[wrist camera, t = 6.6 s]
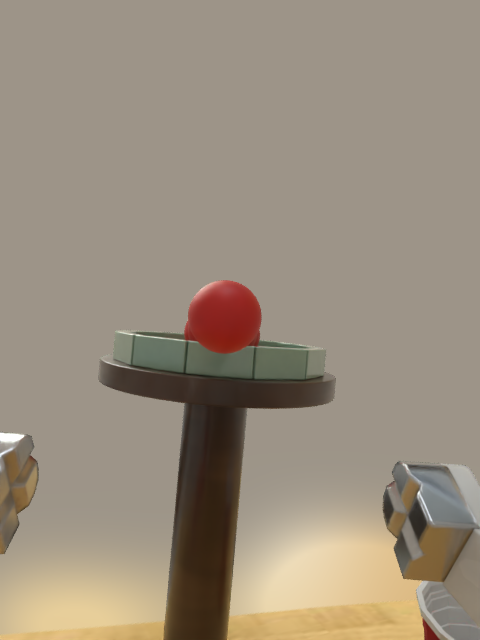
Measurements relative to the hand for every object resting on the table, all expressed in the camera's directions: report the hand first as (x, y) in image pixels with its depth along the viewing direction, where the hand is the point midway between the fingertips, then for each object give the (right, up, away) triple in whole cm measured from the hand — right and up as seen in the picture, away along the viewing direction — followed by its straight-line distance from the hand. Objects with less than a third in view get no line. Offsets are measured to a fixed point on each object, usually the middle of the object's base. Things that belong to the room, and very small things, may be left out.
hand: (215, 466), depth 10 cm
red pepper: (-1, +1, +14) cm, 14 cm away
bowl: (-1, 0, +20) cm, 20 cm away
